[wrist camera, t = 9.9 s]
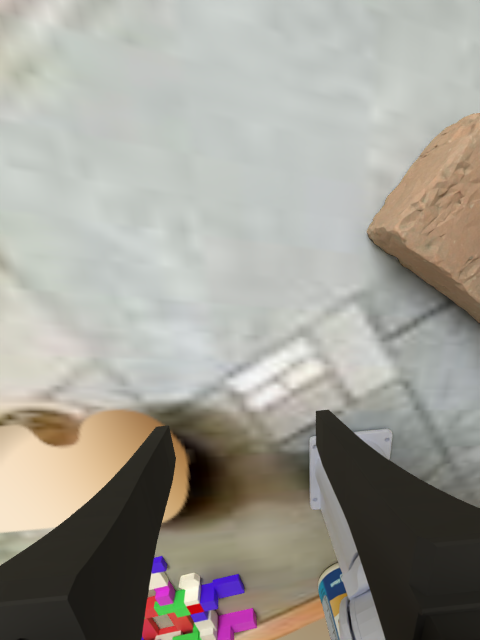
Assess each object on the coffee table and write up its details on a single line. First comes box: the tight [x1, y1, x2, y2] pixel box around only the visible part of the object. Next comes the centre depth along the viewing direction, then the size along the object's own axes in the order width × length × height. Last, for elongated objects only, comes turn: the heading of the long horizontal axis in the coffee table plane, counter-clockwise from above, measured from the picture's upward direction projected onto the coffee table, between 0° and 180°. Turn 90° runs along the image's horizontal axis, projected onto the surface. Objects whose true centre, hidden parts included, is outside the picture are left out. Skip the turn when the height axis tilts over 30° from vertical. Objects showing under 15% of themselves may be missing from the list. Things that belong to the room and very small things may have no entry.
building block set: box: [141, 556, 257, 640], centre depth 33 cm, size 25×21×4 cm
